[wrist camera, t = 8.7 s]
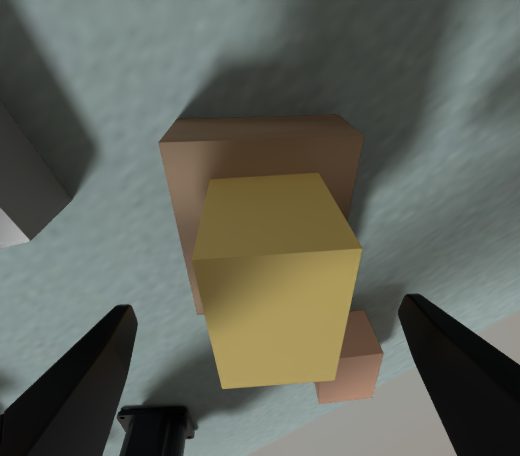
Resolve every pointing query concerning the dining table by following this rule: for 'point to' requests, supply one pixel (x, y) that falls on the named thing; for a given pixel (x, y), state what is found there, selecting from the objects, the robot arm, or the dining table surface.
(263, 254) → the mustard brick
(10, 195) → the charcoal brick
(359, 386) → the terracotta brick
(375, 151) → the dining table surface
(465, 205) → the dining table surface
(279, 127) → the walnut block
